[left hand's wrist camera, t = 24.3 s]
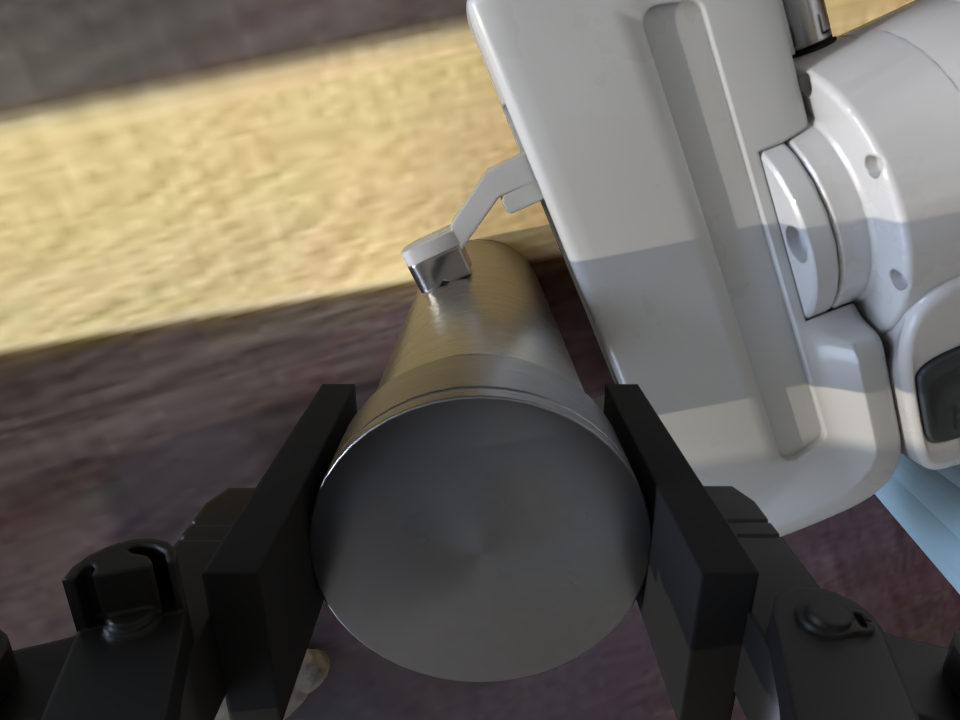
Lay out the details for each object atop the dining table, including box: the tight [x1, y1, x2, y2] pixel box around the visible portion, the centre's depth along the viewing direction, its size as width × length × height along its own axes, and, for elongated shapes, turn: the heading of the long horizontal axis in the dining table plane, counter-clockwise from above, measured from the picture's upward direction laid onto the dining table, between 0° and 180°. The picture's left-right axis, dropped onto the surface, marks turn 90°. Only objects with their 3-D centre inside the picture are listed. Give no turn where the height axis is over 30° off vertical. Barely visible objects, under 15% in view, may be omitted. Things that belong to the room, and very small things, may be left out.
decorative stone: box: [214, 649, 330, 720], centre depth 32 cm, size 6×16×3 cm, turn 117°
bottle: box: [376, 240, 584, 392], centre depth 19 cm, size 5×5×16 cm
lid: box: [309, 354, 652, 682], centre depth 11 cm, size 6×6×2 cm
